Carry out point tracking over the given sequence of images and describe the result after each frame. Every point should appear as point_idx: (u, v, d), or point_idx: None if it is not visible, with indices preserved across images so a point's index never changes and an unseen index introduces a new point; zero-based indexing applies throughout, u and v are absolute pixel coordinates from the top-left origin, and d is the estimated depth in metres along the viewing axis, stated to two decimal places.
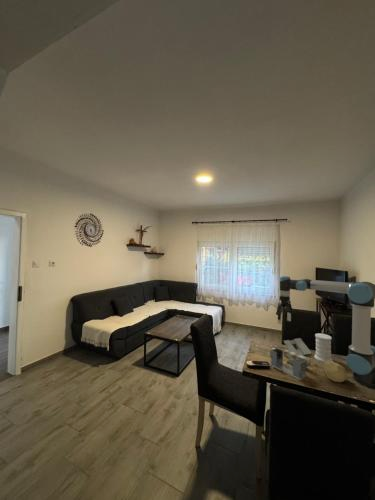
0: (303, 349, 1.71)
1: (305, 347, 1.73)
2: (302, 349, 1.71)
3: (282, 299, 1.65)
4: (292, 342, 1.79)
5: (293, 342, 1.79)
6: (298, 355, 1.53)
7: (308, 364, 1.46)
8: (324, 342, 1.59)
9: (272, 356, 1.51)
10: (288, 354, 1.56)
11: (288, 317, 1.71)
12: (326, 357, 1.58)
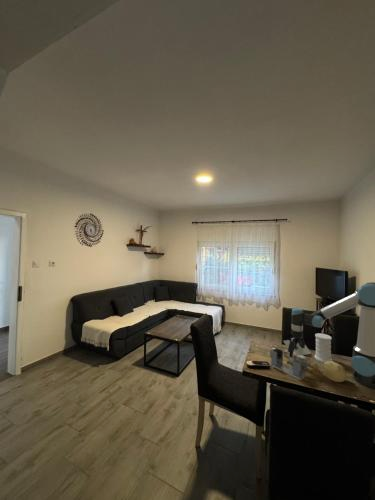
0: None
1: (305, 347, 1.72)
2: None
3: (294, 334, 1.52)
4: None
5: None
6: (298, 355, 1.53)
7: (308, 364, 1.46)
8: (324, 342, 1.59)
9: (272, 356, 1.51)
10: (288, 354, 1.56)
11: (300, 352, 1.58)
12: (326, 357, 1.58)
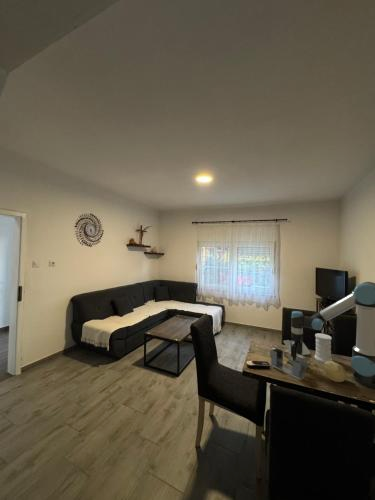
0: (302, 349, 1.71)
1: (305, 347, 1.72)
2: None
3: (294, 337, 1.52)
4: (292, 342, 1.79)
5: None
6: (298, 355, 1.53)
7: (308, 364, 1.46)
8: (324, 342, 1.59)
9: (272, 356, 1.51)
10: (288, 354, 1.56)
11: None
12: (326, 357, 1.58)
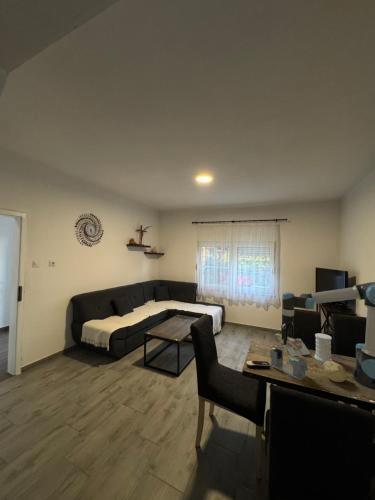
0: (301, 349, 1.71)
1: (304, 347, 1.72)
2: (301, 349, 1.71)
3: (285, 319, 1.45)
4: None
5: None
6: (289, 338, 1.46)
7: (299, 347, 1.39)
8: (324, 342, 1.59)
9: (272, 356, 1.51)
10: (279, 337, 1.49)
11: None
12: (326, 357, 1.58)
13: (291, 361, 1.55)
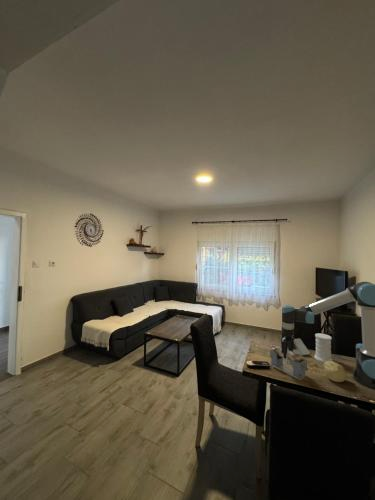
0: (301, 349, 1.71)
1: (304, 347, 1.72)
2: (301, 349, 1.71)
3: (285, 333, 1.44)
4: None
5: None
6: (289, 351, 1.46)
7: (299, 361, 1.39)
8: (324, 342, 1.59)
9: (272, 356, 1.51)
10: (279, 350, 1.49)
11: None
12: (326, 357, 1.58)
13: (291, 361, 1.55)
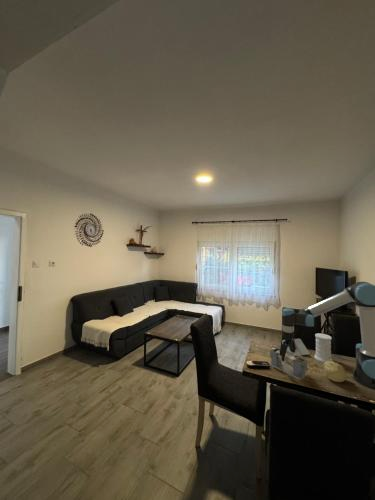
0: (301, 349, 1.71)
1: (304, 348, 1.72)
2: (300, 349, 1.71)
3: (285, 336, 1.44)
4: None
5: None
6: (289, 356, 1.45)
7: None
8: (324, 342, 1.59)
9: (272, 356, 1.51)
10: (279, 355, 1.49)
11: None
12: (326, 357, 1.58)
13: None
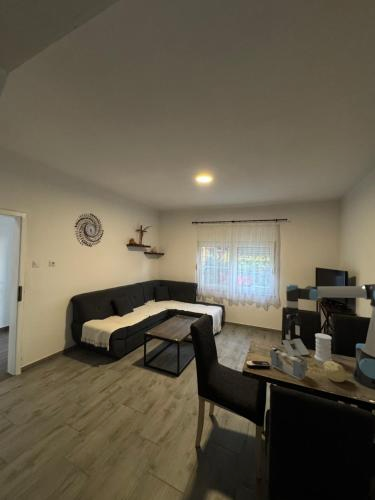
0: (300, 349, 1.71)
1: (303, 348, 1.72)
2: (300, 349, 1.71)
3: (290, 311, 1.46)
4: (291, 342, 1.79)
5: (292, 342, 1.78)
6: (289, 356, 1.45)
7: None
8: (324, 342, 1.59)
9: (272, 356, 1.51)
10: (279, 355, 1.49)
11: (296, 331, 1.52)
12: (326, 357, 1.58)
13: None
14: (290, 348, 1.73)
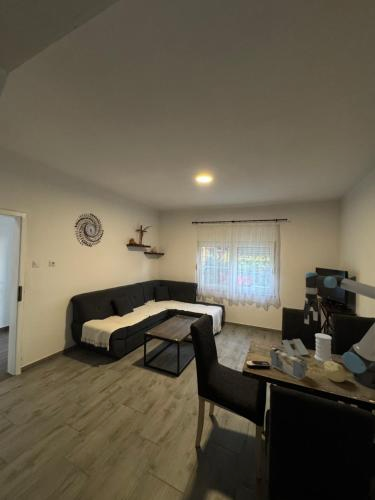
0: (300, 349, 1.70)
1: (303, 348, 1.71)
2: (299, 349, 1.71)
3: (309, 297, 1.52)
4: (291, 342, 1.79)
5: (292, 342, 1.78)
6: (289, 356, 1.45)
7: None
8: (324, 342, 1.59)
9: (272, 356, 1.51)
10: (279, 355, 1.49)
11: (314, 316, 1.58)
12: (326, 357, 1.58)
13: None
14: (290, 348, 1.73)
